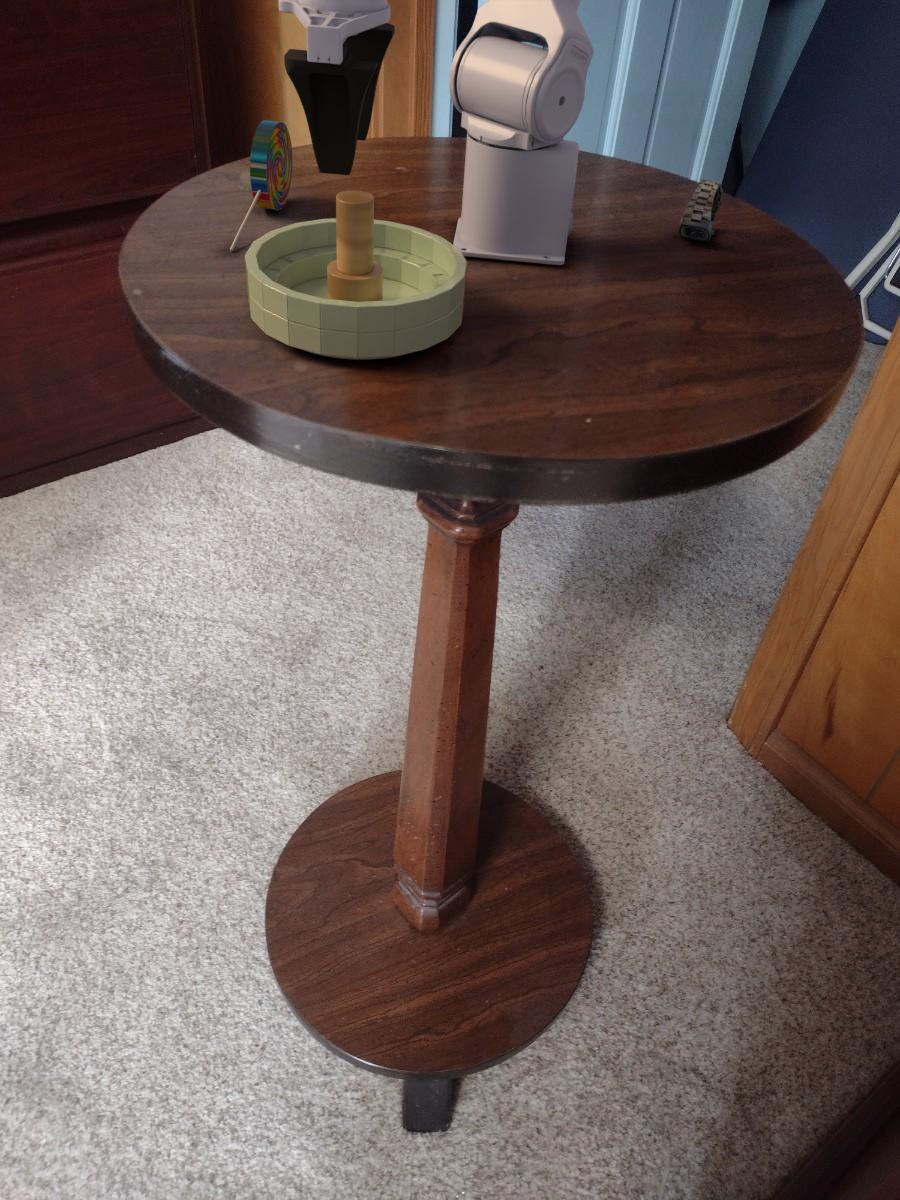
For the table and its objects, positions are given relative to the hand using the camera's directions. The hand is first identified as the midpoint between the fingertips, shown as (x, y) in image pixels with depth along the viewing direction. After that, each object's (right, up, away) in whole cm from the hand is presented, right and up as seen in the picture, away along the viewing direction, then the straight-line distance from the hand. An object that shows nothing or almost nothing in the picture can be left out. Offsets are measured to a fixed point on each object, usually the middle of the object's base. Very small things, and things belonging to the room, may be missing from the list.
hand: (343, 154), depth 68 cm
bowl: (+1, -10, +4) cm, 11 cm away
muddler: (0, -10, +4) cm, 10 cm away
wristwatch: (+30, +2, +21) cm, 37 cm away
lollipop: (-9, +2, +17) cm, 20 cm away
